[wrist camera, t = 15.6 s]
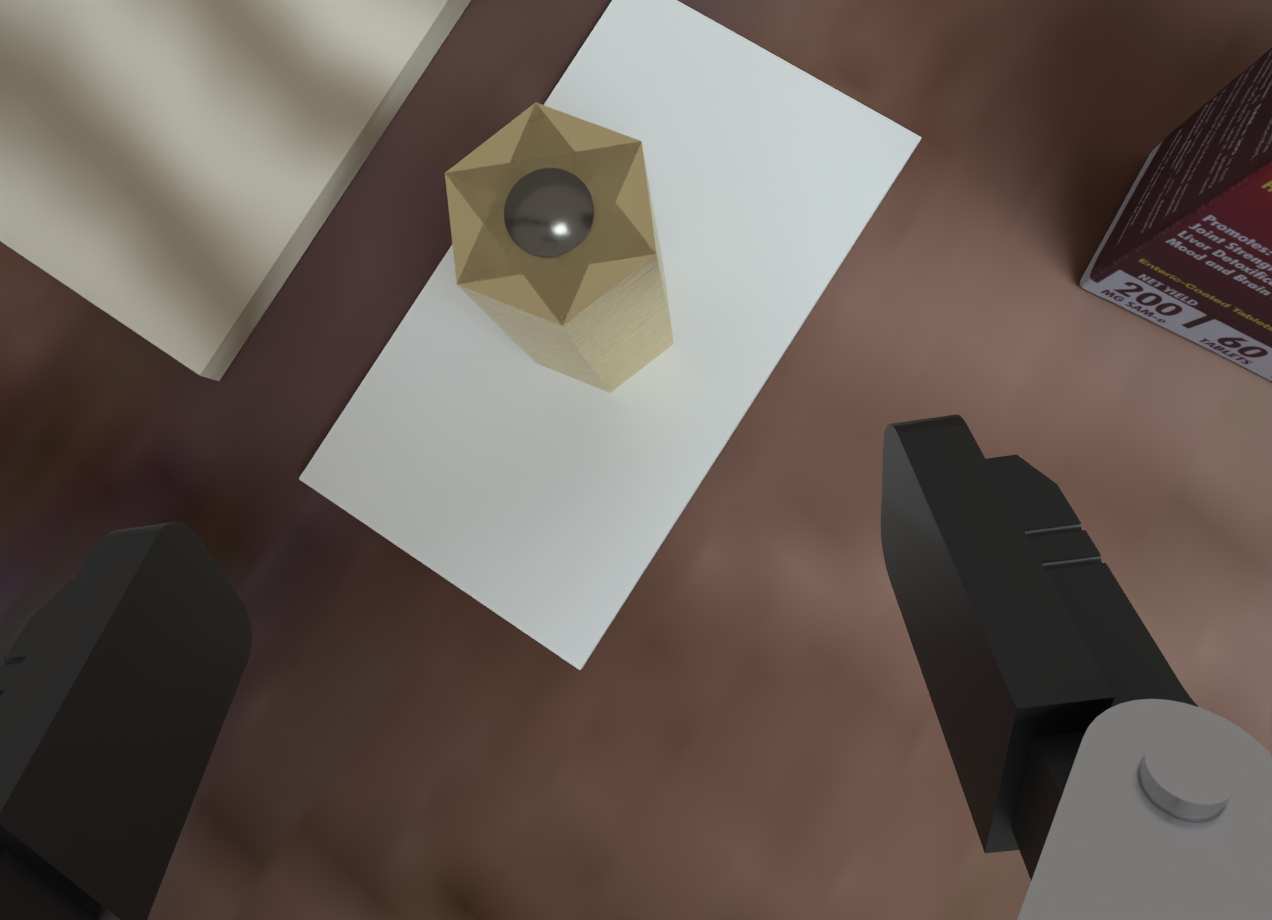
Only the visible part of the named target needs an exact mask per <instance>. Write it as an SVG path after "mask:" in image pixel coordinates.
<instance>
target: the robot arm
mask: <svg viewBox="0 0 1272 920" xmlns="http://www.w3.org/2000/svg"><path fill="white" fill-rule="evenodd" d="M881 538H882V547H883V553H884V559H885V563H886V568H887V572H888V575H889V579H890V582H891V584H892V587H893V590H894V593H895V596H896V599H897V602H898V605H899V608H900V610H901V613H902V616H903V619H904V622H905V625H906V628H907V631H908V633H909V636H910V639H911V642H912V645H913V648H914V651H915V654H916V656H917V659H918V662H919V665H920V668H921V671H922V674H923V677H924V679H925V682H926V685H927V688H928V691H929V694H930V697H931V700H932V702H933V705H934V708H935V711H936V714H937V717H938V720H939V723H940V725H941V728H942V731H943V734H944V737H945V740H946V743H947V746H948V748H949V751H950V754H951V757H952V760H953V763H954V766H955V769H956V771H957V774H958V777H959V780H960V783H961V786H962V789H963V792H964V794H965V797H966V800H967V803H968V806H969V809H970V812H971V815H972V817H973V820H974V823H975V826H976V829H977V832H978V835H979V838H980V840H981V843H982V846H983V849H984V852H985V853H992V852H1002V851H1012V850H1020V852H1021V855H1022V858H1023V860H1024V863H1025V866H1026V868H1027V871H1028V873H1029V876H1030V879H1031V883H1030V886H1029V889H1028V892H1027V895H1026V897H1025V900H1024V903H1023V906H1022V909H1021V911H1020V914H1019V917H1018V920H1272V755H1271V754H1270V753H1269V752H1268V751H1267V750H1266V749H1265V748H1264V747H1263V746H1262V745H1261V744H1260V743H1259V742H1258V741H1257V740H1255V739H1254V738H1253V737H1252V736H1251V735H1249V734H1248V733H1246V732H1245V731H1244V730H1242V729H1241V728H1240V727H1238V726H1237V725H1235V724H1233V723H1231V722H1230V721H1228V720H1226V719H1224V718H1223V717H1221V716H1219V715H1217V714H1214V713H1212V712H1210V711H1207V710H1205V709H1203V708H1199V707H1198V706H1197V704H1196V703H1195V702H1194V701H1193V700H1192V699H1191V698H1190V696H1189V695H1188V693H1187V692H1186V691H1185V689H1184V688H1183V687H1182V685H1181V683H1180V682H1179V680H1178V679H1177V677H1176V675H1175V674H1174V672H1173V671H1172V669H1171V667H1170V666H1169V664H1168V662H1167V661H1166V659H1165V658H1164V656H1163V654H1162V653H1161V651H1160V650H1159V648H1158V646H1157V645H1156V643H1155V642H1154V640H1153V638H1152V637H1151V635H1150V633H1149V632H1148V630H1147V629H1146V627H1145V625H1144V624H1143V622H1142V621H1141V619H1140V617H1139V616H1138V614H1137V613H1136V611H1135V609H1134V608H1133V606H1132V604H1131V603H1130V601H1129V600H1128V598H1127V596H1126V595H1125V593H1124V592H1123V590H1122V588H1121V587H1120V585H1119V584H1118V582H1117V580H1116V579H1115V577H1114V575H1113V574H1112V572H1111V571H1110V569H1109V567H1108V566H1107V564H1106V563H1102V562H1101V558H1100V553H1099V551H1098V550H1097V548H1096V546H1095V545H1094V543H1093V542H1092V540H1091V538H1090V537H1089V535H1088V534H1087V532H1086V530H1084V531H1082V529H1081V522H1080V521H1079V519H1078V517H1077V516H1076V514H1075V513H1074V511H1073V509H1072V508H1071V506H1070V505H1069V503H1068V501H1067V500H1066V498H1065V497H1064V495H1063V493H1062V492H1061V490H1060V488H1059V487H1058V485H1057V484H1056V483H1054V482H1053V481H1052V480H1050V479H1049V478H1048V477H1046V476H1045V475H1043V474H1042V473H1041V472H1039V471H1038V470H1037V469H1035V468H1034V467H1033V466H1031V465H1030V464H1029V463H1027V462H1026V461H1025V460H1023V459H1022V458H1020V457H1019V456H1018V455H1011V456H1003V457H996V458H989V459H985V457H984V456H983V454H982V452H981V450H980V448H979V446H978V444H977V443H976V441H975V439H974V437H973V435H972V433H971V432H970V430H969V428H968V426H967V424H966V423H965V421H964V420H963V418H962V417H961V416H959V415H950V416H943V417H936V418H929V419H922V420H914V421H907V422H900V423H893V424H888V425H887V427H886V429H885V434H884V448H883V475H882V502H881ZM251 641H252V633H251V624H250V619H249V616H248V613H247V610H246V608H245V606H244V604H243V603H242V601H241V600H240V598H239V597H238V595H237V594H236V592H235V591H234V589H233V588H232V586H231V585H230V583H229V582H228V580H227V579H226V577H225V576H224V575H223V573H222V572H221V570H220V569H219V567H218V566H217V564H216V563H215V561H214V560H213V558H212V557H211V555H210V554H209V552H208V551H207V549H206V548H205V546H204V545H203V543H202V542H201V541H200V539H199V538H198V536H197V535H196V533H195V532H194V531H193V530H192V529H191V528H190V527H189V526H188V525H186V524H184V523H181V522H169V523H162V524H155V525H148V526H141V527H134V528H126V529H119V530H114V531H111V532H109V533H107V534H106V535H105V536H103V537H102V538H101V540H100V541H99V542H98V544H97V545H96V547H95V548H94V550H93V551H92V553H91V555H90V556H89V558H88V559H87V561H86V562H85V564H84V566H83V567H82V569H81V570H80V572H79V573H78V575H77V577H76V578H75V580H73V581H70V582H69V583H68V584H67V585H66V586H65V587H64V588H63V589H62V590H61V591H59V592H58V593H57V594H56V595H55V596H54V597H53V598H52V599H51V600H50V601H49V602H48V603H47V604H46V605H44V606H43V607H42V608H41V609H40V610H39V611H38V612H37V613H36V614H35V615H34V616H33V617H32V618H31V619H30V620H29V622H28V623H27V625H26V626H25V628H24V629H23V631H22V632H21V634H20V635H19V637H18V639H17V640H16V642H15V643H14V645H13V646H12V648H11V649H10V651H9V652H8V654H7V655H6V657H5V658H4V660H5V666H4V667H0V920H147V918H148V915H149V913H150V910H151V908H152V905H153V902H154V900H155V897H156V895H157V892H158V889H159V887H160V884H161V882H162V879H163V877H164V874H165V871H166V869H167V866H168V864H169V861H170V859H171V856H172V853H173V851H174V848H175V846H176V843H177V841H178V838H179V835H180V833H181V830H182V828H183V825H184V823H185V820H186V817H187V815H188V812H189V810H190V807H191V805H192V802H193V799H194V797H195V794H196V792H197V789H198V787H199V784H200V781H201V779H202V776H203V774H204V771H205V769H206V766H207V763H208V761H209V758H210V756H211V753H212V751H213V748H214V745H215V743H216V740H217V738H218V735H219V733H220V730H221V727H222V725H223V722H224V720H225V717H226V714H227V712H228V709H229V707H230V704H231V702H232V699H233V696H234V694H235V691H236V689H237V686H238V684H239V681H240V678H241V676H242V673H243V671H244V668H245V666H246V663H247V660H248V657H249V654H250V649H251Z"/></svg>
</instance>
